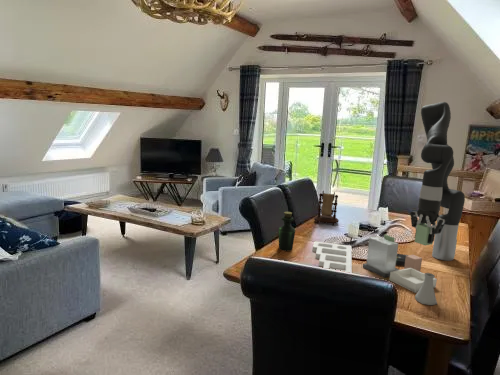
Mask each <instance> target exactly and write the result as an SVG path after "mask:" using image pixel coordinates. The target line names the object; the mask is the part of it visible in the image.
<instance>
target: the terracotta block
mask: <svg viewBox="0 0 500 375" xmlns="http://www.w3.org/2000/svg"><path fill="white" fill-rule="evenodd" d="M407 255H408V256H406V259H405V266H403V267H404V268H403V269H407V268H412V269H415V270H417V271H419V272H421V269H422V261H423V257H421V256H418V255H415V254H407Z"/></svg>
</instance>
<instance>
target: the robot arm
mask: <svg viewBox="0 0 500 375" xmlns="http://www.w3.org/2000/svg"><path fill="white" fill-rule="evenodd" d="M420 114H421V115H420V116H421V121H422V124H423V128H424V133H425V136H426V143H425V144H424V146H423V147H422V149H421V152H420V158H421V160H422V161H423V162H424V163H427V164H430V165H431V168H432V169H426V170H424V172H423V176H422V183H421V188H420V190H419V191H420V192H419V198H418V205H417V208H418V210H417V211H416V210H414V211H410V222H411V227H412V228H414V229H415V231H416V230H417V224H419V225H421V224H427V226H428V227H429V233H430V234H429V235H428V242H427V243H429V244H430V243H432V242H433V244H432V245H433V246H432V253H431V256H432V257H433V258H434V259H437V260H442V261H447V262H448V261H449V262H450V261H454V259H455V256H456V250H457V242H458V239H457V237H458V233H459V232H458V230H459V225H460V221H461V218H462V216H463V211H464V207H465V203H466V202H465V201H466V200H465V199H466V198H465V197H466V196H465V193H464V192H463V191H461V190H458V189H457V190H456V189H454V188H450V187H449V184H448V178H449V176H450V174H451V172H452V170H453V169H454V167H455V158H454V149H453V148H452V146H450V145H449V144H448V129H449V128H450V123H451V119H452V118H451V117H452V116H451V115H452V114H451V108H450V105H449V103H448V102H446V101H439V102H436V103H431V104H426V105H424V106H422V107H421V109H420ZM441 208H445V209H448V211H447V213H446V214H445V213H444V214H439V212H440V211H441ZM432 228H433V229H432ZM415 236H416V232H415V233H414V237H415Z"/></svg>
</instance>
